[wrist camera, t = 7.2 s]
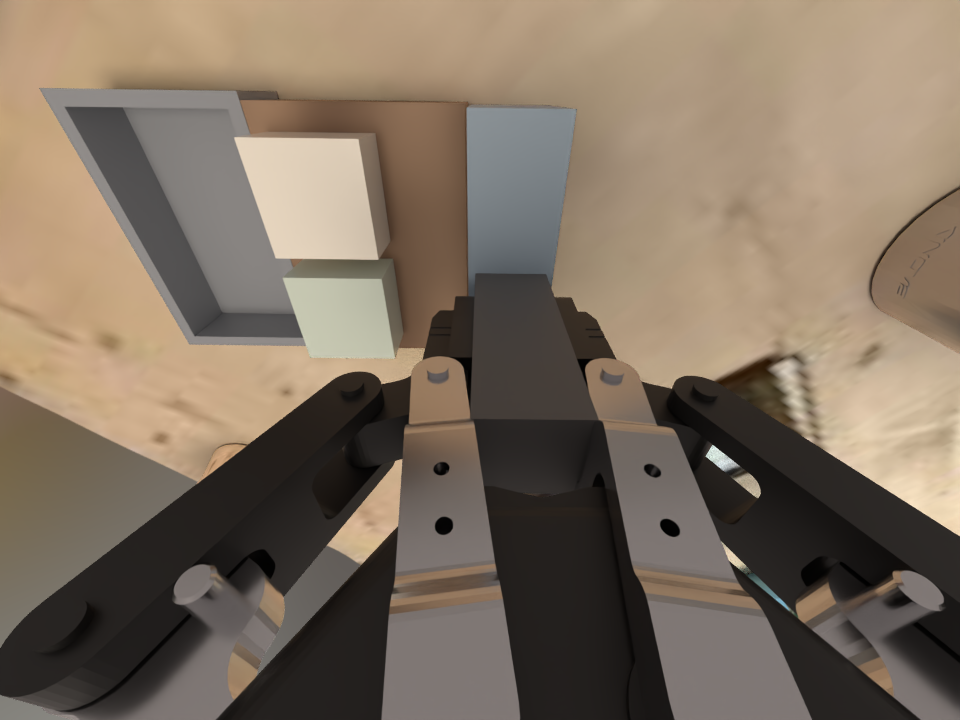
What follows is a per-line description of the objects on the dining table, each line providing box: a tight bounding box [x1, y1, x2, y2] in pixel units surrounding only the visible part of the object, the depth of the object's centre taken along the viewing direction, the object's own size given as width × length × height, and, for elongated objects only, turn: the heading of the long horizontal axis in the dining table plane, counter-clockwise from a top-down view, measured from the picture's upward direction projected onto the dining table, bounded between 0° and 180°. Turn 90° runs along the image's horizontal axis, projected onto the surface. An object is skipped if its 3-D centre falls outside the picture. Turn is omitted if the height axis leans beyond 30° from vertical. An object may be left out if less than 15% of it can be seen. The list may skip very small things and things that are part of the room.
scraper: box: [467, 104, 599, 494], centre depth 12 cm, size 3×12×12 cm, turn 179°
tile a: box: [234, 132, 390, 260], centre depth 15 cm, size 4×4×2 cm
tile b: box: [283, 259, 403, 359], centre depth 18 cm, size 4×4×2 cm
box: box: [39, 88, 306, 346], centre depth 19 cm, size 8×13×4 cm, turn 179°
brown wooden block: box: [240, 100, 469, 348], centre depth 19 cm, size 9×12×4 cm
